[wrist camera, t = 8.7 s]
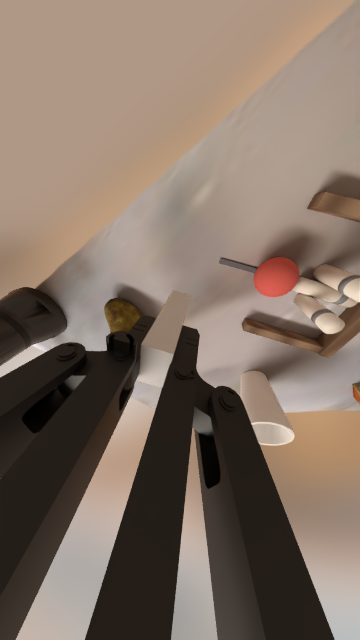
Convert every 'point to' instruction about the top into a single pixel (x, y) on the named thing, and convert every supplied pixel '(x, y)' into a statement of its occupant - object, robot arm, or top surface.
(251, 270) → the thin gray bar
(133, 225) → the top surface
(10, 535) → the robot arm
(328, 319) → the pin
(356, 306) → the rail
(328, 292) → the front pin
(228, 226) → the top surface
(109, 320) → the potato
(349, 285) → the pin
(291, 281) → the ball
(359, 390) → the shoe polish box
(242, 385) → the foam cup
